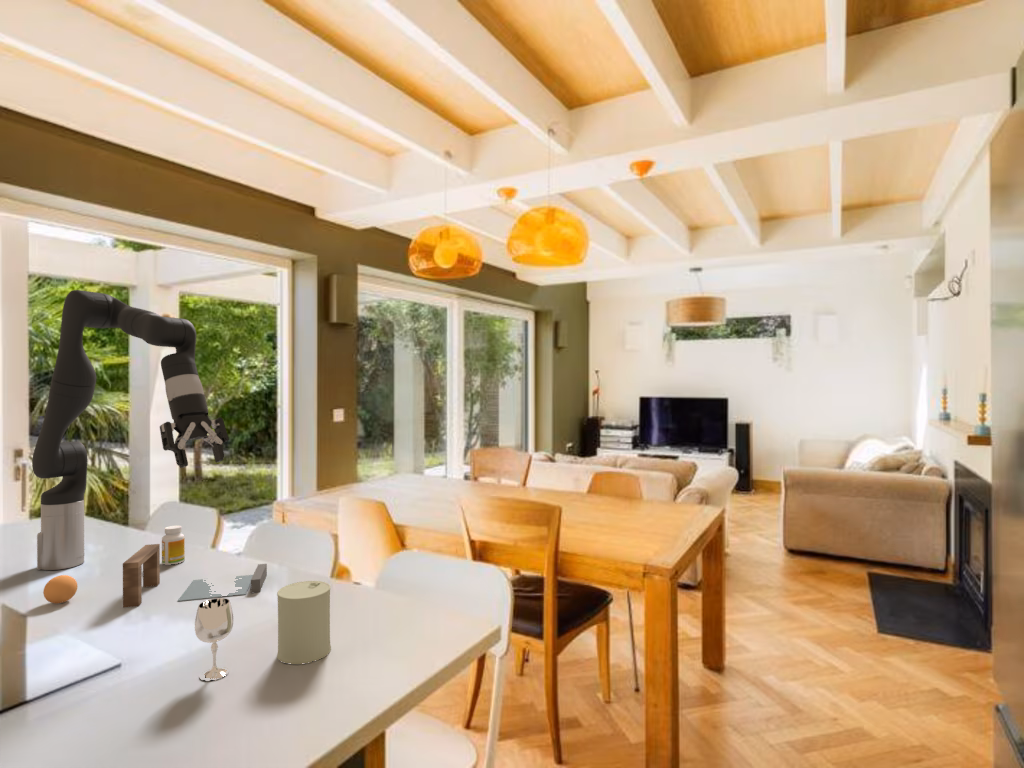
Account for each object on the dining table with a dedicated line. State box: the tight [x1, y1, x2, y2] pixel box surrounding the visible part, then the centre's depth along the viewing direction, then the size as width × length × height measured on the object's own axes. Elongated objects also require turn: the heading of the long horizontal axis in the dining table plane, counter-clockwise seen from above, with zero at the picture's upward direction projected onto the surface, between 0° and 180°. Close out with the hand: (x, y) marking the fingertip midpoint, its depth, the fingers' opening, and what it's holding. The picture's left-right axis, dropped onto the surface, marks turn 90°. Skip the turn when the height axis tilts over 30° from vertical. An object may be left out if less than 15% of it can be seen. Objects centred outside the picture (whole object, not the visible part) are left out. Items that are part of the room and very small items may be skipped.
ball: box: [42, 574, 78, 605], centre depth 127 cm, size 6×6×6 cm
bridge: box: [122, 543, 161, 609], centre depth 132 cm, size 3×15×10 cm, turn 17°
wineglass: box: [194, 597, 234, 679], centre depth 95 cm, size 6×6×12 cm
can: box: [276, 580, 332, 665], centre depth 103 cm, size 9×9×12 cm
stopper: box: [250, 563, 268, 594], centre depth 139 cm, size 2×12×3 cm, turn 17°
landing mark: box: [177, 574, 253, 602], centre depth 136 cm, size 14×14×1 cm
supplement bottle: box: [161, 525, 186, 566], centre depth 156 cm, size 5×5×10 cm
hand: (202, 464), depth 130 cm, fingers open, 8 cm apart
